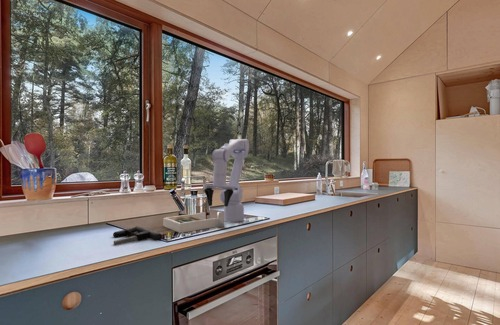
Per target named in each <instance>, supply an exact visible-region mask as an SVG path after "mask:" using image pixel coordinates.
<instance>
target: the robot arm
mask: <svg viewBox="0 0 500 325" xmlns="http://www.w3.org/2000/svg"><path fill="white" fill-rule="evenodd" d="M249 150H250V142H249V139H248V138H242V139H241V138H239V139H232V138H230V140H229V142H228V143H224V144H223V145H222V146H221V147H220V148H219V149H214V150H213V151H212V154H211V158H212V159H211V160H212V165H213V176H212V177H213V178H212V184H211V183H210V184H207V183H206V184H204V183H203V185H202V189H203V192H204V193H205V196H206V199H207V206H208V207H209V206H210V207H212V206H213V196H214V191H215V190H218V191H219V190H220V195H219V198H220V200H221V202H222V204H223V212H224V223H227V224H232V223H240V222H244V221H246V220H245V210H244V204H243V203H242V199H243V188H242V187H241V186H240V185H239V184H240V179H241V175H242V170H243V165H244V162H245V158H247V157H248V155H249ZM230 157H233V158H234V161H233V165H232V168H231V172H230V173H231V174H230V176H229V180H228V183H227V170H228V169H227V165H228V162H229V160H230Z"/></svg>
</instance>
